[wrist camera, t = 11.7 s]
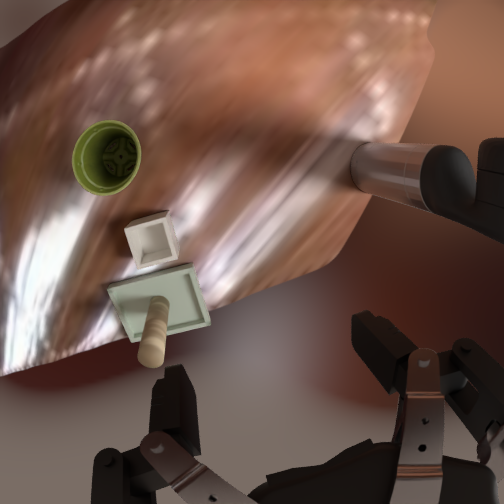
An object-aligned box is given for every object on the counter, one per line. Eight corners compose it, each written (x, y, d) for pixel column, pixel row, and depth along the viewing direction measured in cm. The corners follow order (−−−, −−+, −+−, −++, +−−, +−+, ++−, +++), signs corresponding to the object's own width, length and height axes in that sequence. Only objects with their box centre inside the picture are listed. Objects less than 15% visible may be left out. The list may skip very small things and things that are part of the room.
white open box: (169, 210, 41) (165, 217, 36) (179, 247, 43) (177, 259, 39) (131, 220, 40) (124, 228, 36) (143, 257, 43) (137, 269, 38)
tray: (192, 262, 44) (192, 267, 43) (210, 318, 48) (211, 324, 47) (109, 284, 43) (106, 289, 41) (133, 336, 47) (131, 342, 45)
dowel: (165, 293, 44) (157, 345, 31) (172, 310, 46) (167, 365, 33) (147, 298, 44) (133, 350, 31) (154, 314, 45) (144, 369, 32)
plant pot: (164, 156, 38) (156, 156, 30) (121, 200, 39) (103, 211, 31) (125, 114, 35) (109, 104, 27) (83, 159, 36) (59, 160, 28)
